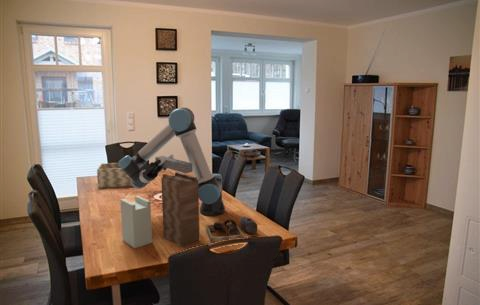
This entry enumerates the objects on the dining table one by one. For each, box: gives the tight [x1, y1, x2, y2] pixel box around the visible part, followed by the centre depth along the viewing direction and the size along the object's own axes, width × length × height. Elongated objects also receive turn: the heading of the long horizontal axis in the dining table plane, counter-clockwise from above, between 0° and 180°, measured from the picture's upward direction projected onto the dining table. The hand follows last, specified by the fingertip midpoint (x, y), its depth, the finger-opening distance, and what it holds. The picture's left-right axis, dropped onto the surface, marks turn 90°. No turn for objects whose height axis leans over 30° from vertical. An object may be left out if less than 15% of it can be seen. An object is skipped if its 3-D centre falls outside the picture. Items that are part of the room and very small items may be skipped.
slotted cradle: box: [119, 195, 153, 249], centre depth 166 cm, size 12×9×20 cm
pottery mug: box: [212, 218, 238, 236], centre depth 177 cm, size 12×10×8 cm
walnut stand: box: [160, 171, 201, 248], centre depth 168 cm, size 16×10×32 cm, turn 43°
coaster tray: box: [205, 222, 244, 244], centre depth 175 cm, size 16×17×3 cm
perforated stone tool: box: [239, 216, 258, 234], centre depth 181 cm, size 15×5×7 cm, turn 23°
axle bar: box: [154, 155, 194, 174], centre depth 169 cm, size 26×4×4 cm, turn 43°
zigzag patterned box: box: [96, 162, 133, 189], centre depth 277 cm, size 26×23×14 cm
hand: (168, 157), depth 171 cm, fingers closed on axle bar, 4 cm apart
